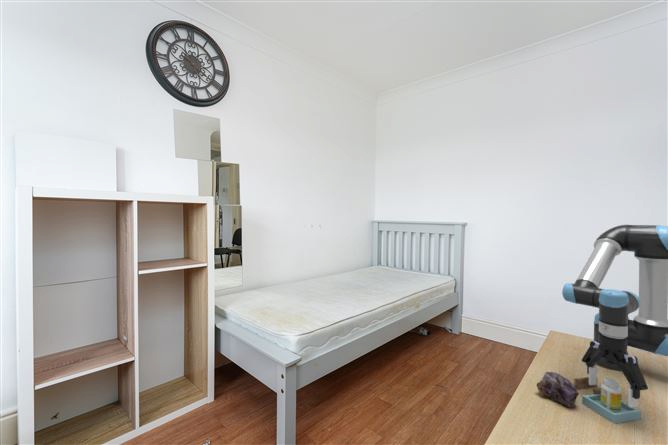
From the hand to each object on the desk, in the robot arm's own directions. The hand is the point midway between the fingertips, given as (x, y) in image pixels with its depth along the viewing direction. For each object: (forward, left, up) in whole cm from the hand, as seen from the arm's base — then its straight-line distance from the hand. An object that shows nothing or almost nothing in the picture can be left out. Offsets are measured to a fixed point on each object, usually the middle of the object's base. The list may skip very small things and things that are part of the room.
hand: (611, 394), depth 108 cm
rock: (+12, -9, -6) cm, 16 cm away
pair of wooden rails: (-5, -10, -6) cm, 13 cm away
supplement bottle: (0, 0, -5) cm, 5 cm away
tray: (0, 0, -6) cm, 6 cm away
